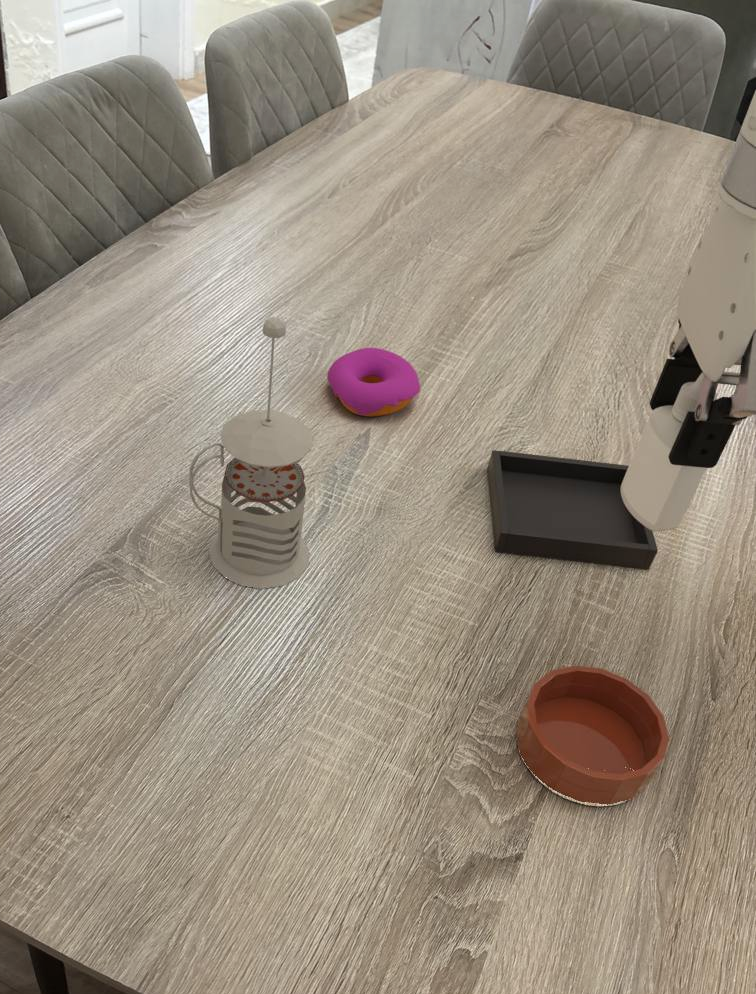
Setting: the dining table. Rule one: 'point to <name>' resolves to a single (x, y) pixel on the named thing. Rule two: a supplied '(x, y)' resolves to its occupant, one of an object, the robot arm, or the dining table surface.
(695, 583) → the dining table surface
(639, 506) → the eye dropper bottle
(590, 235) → the dining table surface
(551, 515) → the tray
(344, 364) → the donut
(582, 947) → the dining table surface
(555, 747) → the bowl
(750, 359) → the robot arm
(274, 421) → the french press
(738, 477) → the dining table surface
